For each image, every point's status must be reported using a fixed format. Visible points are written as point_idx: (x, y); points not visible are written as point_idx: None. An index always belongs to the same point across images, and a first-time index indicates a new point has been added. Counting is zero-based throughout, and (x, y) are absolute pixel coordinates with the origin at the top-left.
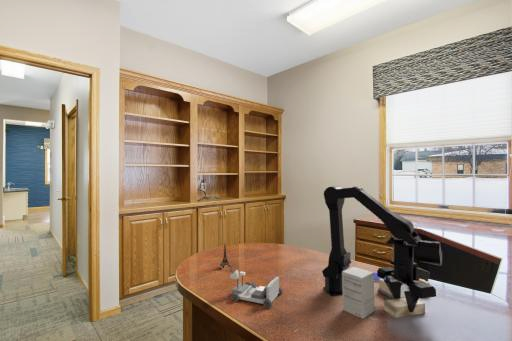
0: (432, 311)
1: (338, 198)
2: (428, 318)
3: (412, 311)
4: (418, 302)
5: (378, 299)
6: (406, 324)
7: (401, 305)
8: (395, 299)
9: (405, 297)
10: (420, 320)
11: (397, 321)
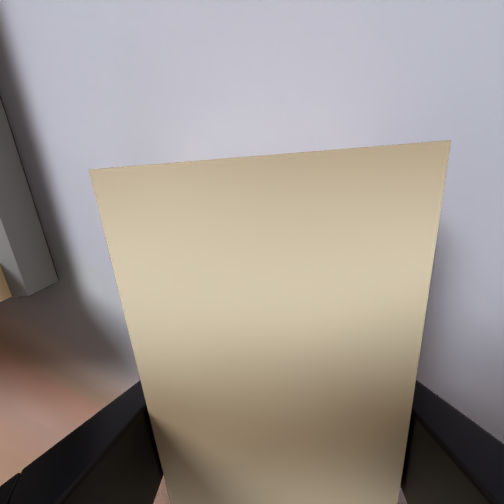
0: (373, 3)
1: None
2: (488, 224)
3: None
4: (365, 255)
5: (35, 404)
6: None
7: None
8: (182, 489)
9: (129, 329)
10: (476, 336)
11: (403, 499)
